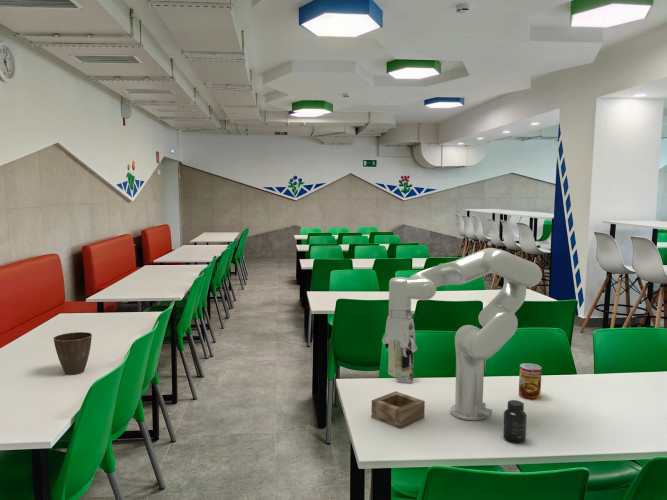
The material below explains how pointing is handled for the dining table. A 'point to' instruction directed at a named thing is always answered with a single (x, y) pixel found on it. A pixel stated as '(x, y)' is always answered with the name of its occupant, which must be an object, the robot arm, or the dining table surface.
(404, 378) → the coffee box
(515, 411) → the supplement bottle
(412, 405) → the socket block
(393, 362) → the skincare box
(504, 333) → the robot arm
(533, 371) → the canned food
